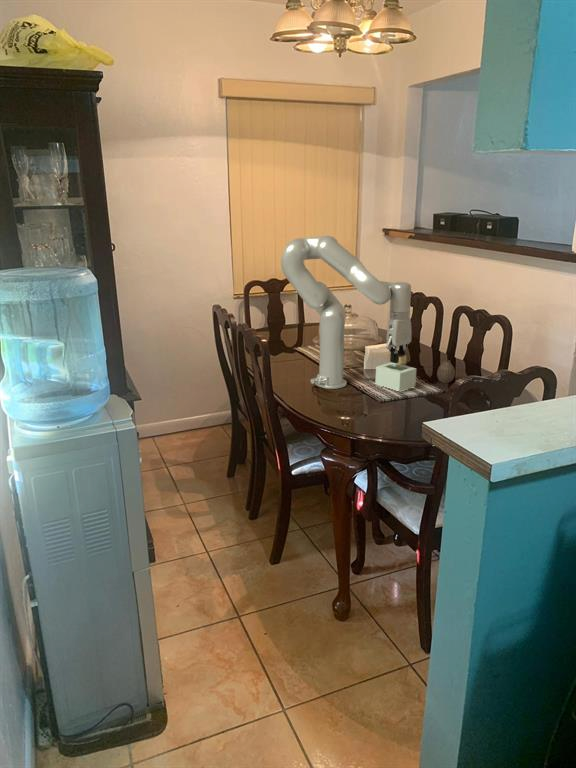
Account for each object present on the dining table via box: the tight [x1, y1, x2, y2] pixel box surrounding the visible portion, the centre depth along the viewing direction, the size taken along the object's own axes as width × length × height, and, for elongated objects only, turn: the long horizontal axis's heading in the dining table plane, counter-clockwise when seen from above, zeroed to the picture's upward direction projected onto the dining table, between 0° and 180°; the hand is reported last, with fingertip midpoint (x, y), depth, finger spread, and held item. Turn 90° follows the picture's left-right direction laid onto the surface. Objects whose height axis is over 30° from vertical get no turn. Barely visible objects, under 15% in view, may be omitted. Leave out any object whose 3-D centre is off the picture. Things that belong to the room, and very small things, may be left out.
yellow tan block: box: [387, 353, 407, 365], centre depth 222 cm, size 3×6×3 cm, turn 41°
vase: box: [436, 359, 456, 384], centre depth 230 cm, size 7×7×9 cm
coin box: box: [374, 362, 417, 391], centre depth 224 cm, size 10×12×8 cm
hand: (397, 361), depth 222 cm, fingers closed on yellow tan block, 3 cm apart
